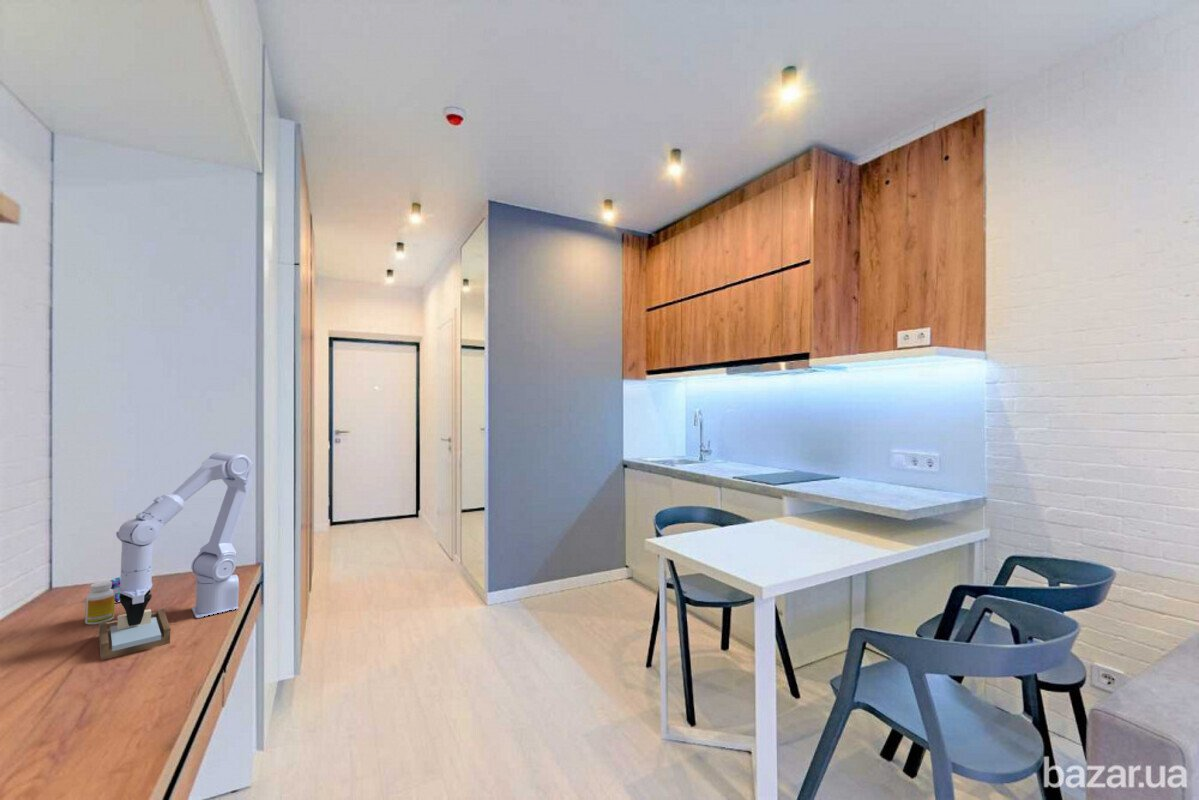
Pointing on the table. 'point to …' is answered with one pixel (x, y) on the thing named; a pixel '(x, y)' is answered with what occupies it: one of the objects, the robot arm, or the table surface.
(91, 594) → the supplement bottle
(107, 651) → the box
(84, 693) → the table surface
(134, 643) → the lid
